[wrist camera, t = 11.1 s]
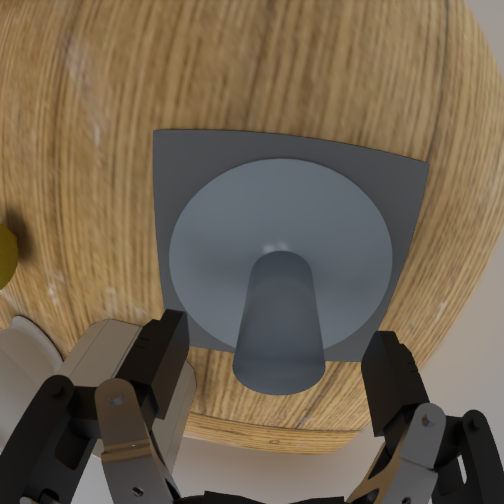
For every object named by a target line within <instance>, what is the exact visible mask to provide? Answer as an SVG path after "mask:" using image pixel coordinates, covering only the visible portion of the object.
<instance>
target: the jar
mask: <svg viewBox="0 0 504 504" xmlns="http://www.w3.org/2000/svg"><path fill="white" fill-rule="evenodd" d="M62 364H63V361H62V358H61V356H60V354H59V352H58V351H57V349H56V348H55V346H54V345H53V343H52V342H51V341H50V340H49V338H48V337H47V336H46V335H45V334H44V333H43V332H42V331H41V330H40V329H39V328H38V327H37V326H36V325H35V324H33V323H32V322H31V321H29V320H28V319H26V318H24V317H22V316H16V317H14V319H13V321H12V326H11V328H6V329H3V330H0V453H2V451H3V449H4V447H5V445H6V443H7V442H8V440H9V438H10V436H11V434H12V433H13V431H14V429H15V427H16V426H17V424H18V422H19V420H20V419H21V417H22V415H23V414H24V412H25V410H26V409H27V407H28V406H29V404H30V402H31V401H32V399H33V398H34V396H35V395H36V393H37V391H38V390H39V388H40V387H41V385H42V384H43V382H44V381H45V380H46V379H47V378H49V377H51V376H53V375H54V373H56V372H57V371H58V370H59V368H60V367H61V365H62Z"/></svg>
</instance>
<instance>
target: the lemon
mask: <svg viewBox="0 0 504 504" xmlns="http://www.w3.org/2000/svg"><path fill="white" fill-rule="evenodd" d="M17 241H18V239H17V236H16V235H14V234H12V232H11V231H10V230H9V229H8V228H7V227H6V226H5V225H3V224H1V223H0V290H2V289H3V288H4V287H5V286H6V285H7V284H8V282H9V281H10V280H11V278H12V277H13V275H14V273H15V270H16V267H17V264H18V255H19V254H18V246H17Z"/></svg>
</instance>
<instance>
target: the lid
mask: <svg viewBox="0 0 504 504" xmlns="http://www.w3.org/2000/svg"><path fill="white" fill-rule="evenodd" d="M169 267H170V273H171V279H172V282H173V285H174V288H175V291H176V293H177V295H178V297H179V299H180V301H181V303H182V304H183V306H184V308H185V309H186V311H187V312H188V313H189V314H190V316H191V317H192V318H193V319H194V320H195V321H196V322H197V323H198V324H199V325H200V326H201V327H202V328H203V329H204V330H206V331H207V332H208V333H209V334H211V335H212V336H214V337H215V338H217V339H219V340H220V341H222V342H224V343H226V344H228V345H230V346H232V347H235V348H236V350H235V355H234V360H233V372H234V374H235V376H236V378H237V379H238V380H239V381H240V382H241V383H242V384H243V385H244V386H246V387H248V388H249V389H251V390H254V391H256V392H259V393H263V394H268V395H290V394H295V393H299V392H302V391H305V390H307V389H309V388H311V387H312V386H314V385H315V384H316V383H317V382H318V381H320V379H321V378H322V376H323V375H324V372H325V358H324V350H323V349H325V348H328V347H330V346H332V345H334V344H336V343H338V342H340V341H342V340H344V339H345V338H347V337H348V336H350V335H351V334H353V333H354V332H355V331H356V330H358V329H359V328H360V327H361V326H362V325H363V324H364V323H365V322H366V321H367V320H368V319H369V318H370V317H371V315H372V314H373V313H374V312H375V310H376V309H377V307H378V306H379V304H380V302H381V301H382V299H383V297H384V294H385V292H386V290H387V287H388V284H389V280H390V277H391V270H392V246H391V240H390V235H389V232H388V229H387V226H386V223H385V221H384V219H383V217H382V216H381V214H380V212H379V210H378V209H377V207H376V206H375V205H374V203H373V202H372V200H371V199H370V198H369V197H368V196H367V195H366V194H365V193H364V192H363V191H362V190H361V189H360V188H359V187H358V186H357V185H356V184H355V183H353V182H352V181H351V180H349V179H348V178H346V177H345V176H344V175H342V174H340V173H339V172H337V171H335V170H333V169H331V168H329V167H327V166H324V165H321V164H318V163H315V162H312V161H307V160H302V159H297V158H282V157H277V158H266V159H259V160H255V161H251V162H247V163H244V164H241V165H238V166H236V167H233V168H231V169H229V170H227V171H225V172H224V173H222V174H220V175H218V176H217V177H215V178H214V179H213V180H212V181H210V182H209V183H208V184H206V185H205V186H204V187H203V188H202V189H201V190H200V191H199V192H198V193H197V194H196V195H195V196H194V197H193V198H192V199H191V200H190V201H189V203H188V204H187V206H186V207H185V209H184V210H183V211H182V213H181V215H180V217H179V219H178V221H177V223H176V225H175V228H174V231H173V234H172V238H171V243H170V250H169Z"/></svg>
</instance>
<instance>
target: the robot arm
mask: <svg viewBox="0 0 504 504" xmlns="http://www.w3.org/2000/svg"><path fill="white" fill-rule="evenodd" d="M189 344H190V338H189V329H188V318H187V313H186V312H185V311H179V310H173V309H166V310H165V312H164V314H163V316H162V318H161V319H160V320H155V319H152V320H151V321H150V322H149V323H147V324H146V325H145V326H143V328H142V329H141V331H140V333H139V335H138V336H137V339H136V340H135V342H134V343H133V347H131V349H130V351H129V352H128V354H127V356H126V358H125V359H124V361H123V363H122V365H121V367H120V369H119V370H118V372H117V374H116V376H115V377H114V378H112V379H108V380H105V381H104V382H102V383H101V384H100V385H99V386H98V387H88V386H74V384H73V383H72V381H71V380H70V379H69V378H68V377H66V376H64V375H53V376H51V377H49V378H47V379H46V380H45V381H44V382H43V384H42V385H41V387H40V388H39V390H38V391H37V393H36V395H35V396H34V398H33V399H32V401H31V402H30V404H29V406H28V407H27V409H26V410H25V412H24V414H23V415H22V417H21V419H20V420H19V422H18V424H17V426H16V427H15V429H14V431H13V433H12V434H11V436H10V438H9V440H8V442H7V443H6V445H5V447H4V449H3V451H2V453H1V455H0V504H70V503H71V501H72V498H73V496H74V493H75V491H76V488H77V486H78V483H79V481H80V479H81V476H82V474H83V471H84V469H85V467H86V464H87V462H88V460H89V458H90V455H91V453H92V451H93V449H94V446H95V444H96V442H97V440H98V439H102V441H103V446H104V452H102V453H101V462H102V466H103V470H104V474H105V477H106V481H107V484H108V487H109V490H110V494H111V497H112V500H113V503H114V504H265V503H261V502H258V501H254V500H251V499H248V498H245V497H242V496H237V495H229V494H222V493H216V492H210V491H205V493H204V495H197V496H189V497H184V498H182V497H181V494H180V492H179V490H178V488H177V486H176V484H175V482H174V480H173V478H172V476H171V474H170V472H169V470H168V468H167V466H166V463H165V461H164V458H163V456H162V453H161V451H160V448H159V445H158V443H157V440H156V437H155V434H154V431H153V428H152V426H153V423H154V420H155V418H158V419H162V420H164V419H165V416H166V414H167V411H168V408H169V405H170V402H171V399H172V396H173V394H174V391H175V388H176V385H177V382H178V379H179V377H180V374H181V371H182V368H183V366H184V363H185V360H186V357H187V354H188V351H189ZM361 371H362V376H363V380H364V385H365V390H366V395H367V400H368V405H369V410H370V415H371V421H372V426H373V432H374V437H378V436H384V437H385V442H384V443H383V444H382V446H381V448H380V450H379V452H378V454H377V456H376V457H375V459H374V461H373V463H372V465H371V467H370V469H369V470H368V472H367V474H366V476H365V477H364V479H363V481H362V482H361V483H360V485H359V486H358V487H357V488H356V489H355V490H354V491H353V492H352V494H351V495H350V496H349V497H348V499H347V500H346V502H344V496H341V497H330V498H314V499H313V498H312V499H308V500H304V501H300V502H295V503H291V504H428V502H429V499H430V497H431V498H432V504H504V471H503V467H502V464H501V461H500V457H499V454H498V450H497V447H496V444H495V441H494V438H493V435H492V433H491V430H490V427H489V425H488V422H487V419H486V417H485V416H484V415H483V414H482V413H481V412H480V411H478V410H470V411H468V412H466V413H465V414H464V416H463V417H454V416H446V415H445V414H444V412H443V410H442V409H441V408H440V407H439V406H437V405H435V404H433V403H430V401H429V399H428V395H427V393H426V390H425V387H424V384H423V382H422V379H421V377H420V374H419V373H418V368H417V366H416V365H415V361H414V358H413V356H412V353H411V352H410V351H409V350H408V348H407V347H406V346H405V345H404V344H400V343H399V341H398V339H397V336H396V334H395V332H394V331H375V332H374V334H373V336H372V338H371V340H370V342H369V345H368V347H367V349H366V351H365V353H364V355H363V357H362V362H361ZM460 455H462V459H463V463H464V467H465V470H466V475H467V480H466V483H465V484H464V483H463V479H462V475H461V470H460V467H459V462H458V459H457V457H459V456H460Z"/></svg>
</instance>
